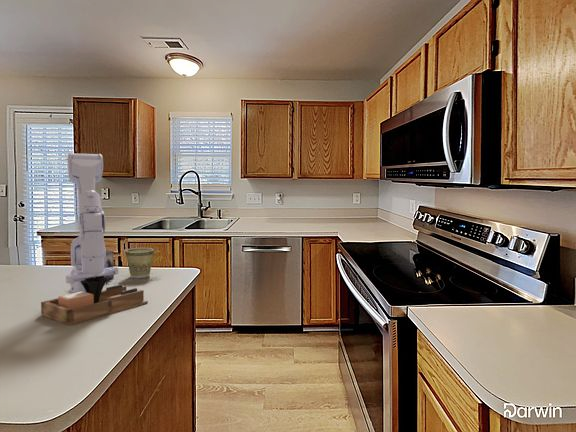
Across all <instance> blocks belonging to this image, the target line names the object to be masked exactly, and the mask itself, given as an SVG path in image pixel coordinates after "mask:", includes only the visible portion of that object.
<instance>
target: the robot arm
mask: <svg viewBox="0 0 576 432" xmlns="http://www.w3.org/2000/svg"><path fill="white" fill-rule="evenodd" d="M67 173H68V179H69V182H71V183H73V184H75V186H76V188H77V191H78V193H77V194H78V214H79V215H78V230H79V236H77V237H76V238H74V239H73V240H72V241H71V243H70V262H71V263H70V264H71V265H70V266H72V269H71V271H70V274H68V275H66V276H65V282H66V284H69V285H70V291H69V292H68V293H67V295H68V294H73V293H77V292H82V291H83V292H87V293H91V294H93V295H94V303H98V302H99V298H100V294H101V291H102V290H104V286H105V284H107V282H108V281H107V279H106V278H104V276H108V275H113V274H114V276H115V275H116V276H117V275H119V267H117V266H114V267H110V268H104V264H105V263H106V250H107V249H106V242H105V241H104V240H105V239H104V237H105V236H104V233H105V232H106V215H105V211H104V210H103V207H102V201H101V200H102V199H101V195H100V194H99V193H98V192H97V191H96V184H97V183H100V182H101V181H102V177H103V173H104V157H103V155H102V154H101V153H74V152H69V153H67Z"/></svg>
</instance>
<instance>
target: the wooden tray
mask: <svg viewBox="0 0 576 432" xmlns="http://www.w3.org/2000/svg"><path fill="white" fill-rule="evenodd" d="M144 295H145V294H144V290H143V289H138V288H137V287H134V288H130V289H127V285H124V284H122V283H120V284H118V285H111V286H108V287H106V289H102V291H101V294H100V298H99V302H98V303H94V304H90V305H86V306H82V307H78V308H74V309H68V308H65V307H62V306H59V305H58V297H57V298H53V299H48V300H44V301H40V311H41V316H42V317H45V318H48V319H51V320H53V321H57V322H59V323H62V324H64V323H65V324H64V325H67V326H71V325H75V324H76V325H77V324H79V323H82V322H83V323H84V322H86V321H89V320H93V319H96V318H100V317H103V316H108V315H112V314H115V313H118V312H121V311H125V310H129V309H132V308H136V307H140V306H143V305H147V304H149V301H148V300H145V299H144Z"/></svg>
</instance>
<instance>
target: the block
mask: <svg viewBox="0 0 576 432" xmlns="http://www.w3.org/2000/svg"><path fill="white" fill-rule="evenodd" d="M57 298H58V305H59V306H62V307H65V308H68V309H74V308H78V307H82V306H86V305H90V304H94V295H93V294H91V293H87V292H83V291H82V292H77V293H73V294H68V293H67V294H64V295H61V296H58V297H57Z"/></svg>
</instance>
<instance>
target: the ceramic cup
mask: <svg viewBox="0 0 576 432" xmlns="http://www.w3.org/2000/svg"><path fill="white" fill-rule="evenodd" d="M156 253H159V254H160V255H159V256H158V257H157V258H155V260H154V261H153V257H154V255H155V254H156ZM161 256H162V251H160V249H159V250H158V249H156V250H154V248H152V247H134V248H133V247H132V248H128V249H125V257H126V260H127V261H126V262H127V266H128V271H129V275H130V278H132V279H145V278H148V277H150V275H151V269H152V266H153V265H154V264H155V262H157V261H158V259H160V258H161ZM152 261H153V262H152Z"/></svg>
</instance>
